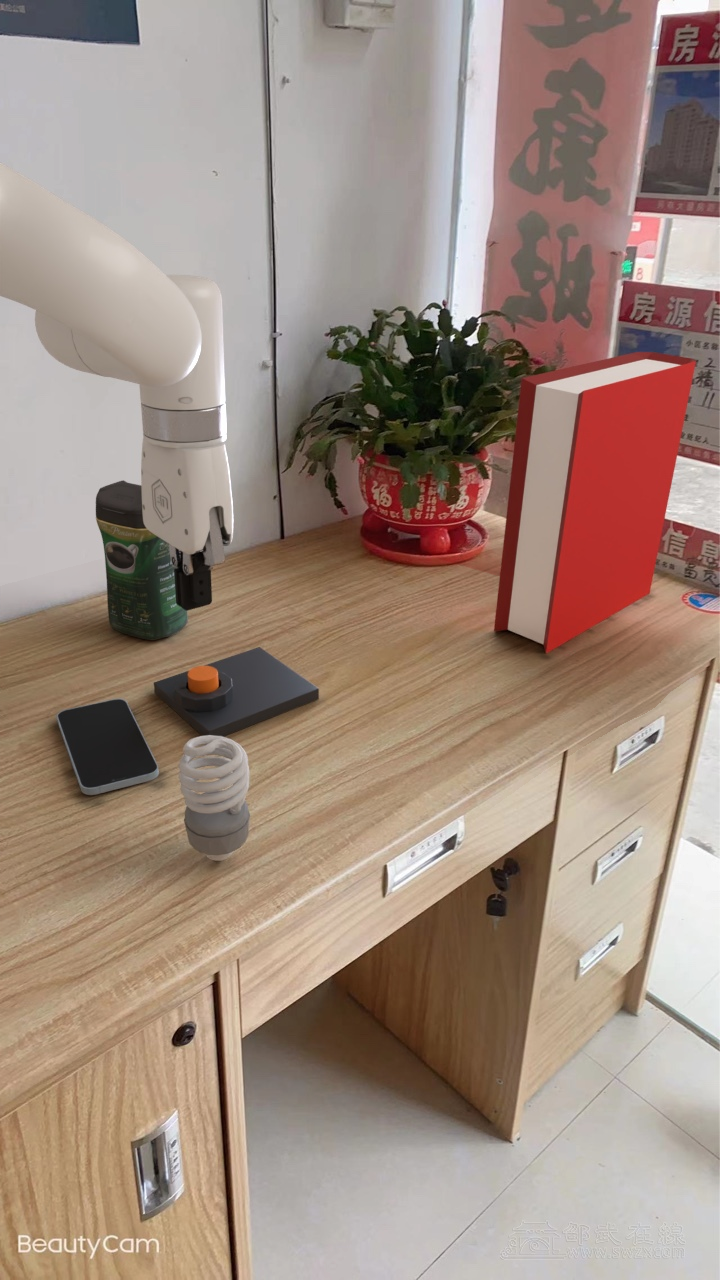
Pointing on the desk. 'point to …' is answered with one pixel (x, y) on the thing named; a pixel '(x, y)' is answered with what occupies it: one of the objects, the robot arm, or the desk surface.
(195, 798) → the light bulb
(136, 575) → the coffee jar
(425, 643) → the desk surface
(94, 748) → the smartphone
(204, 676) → the button
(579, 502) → the book
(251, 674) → the black button base
